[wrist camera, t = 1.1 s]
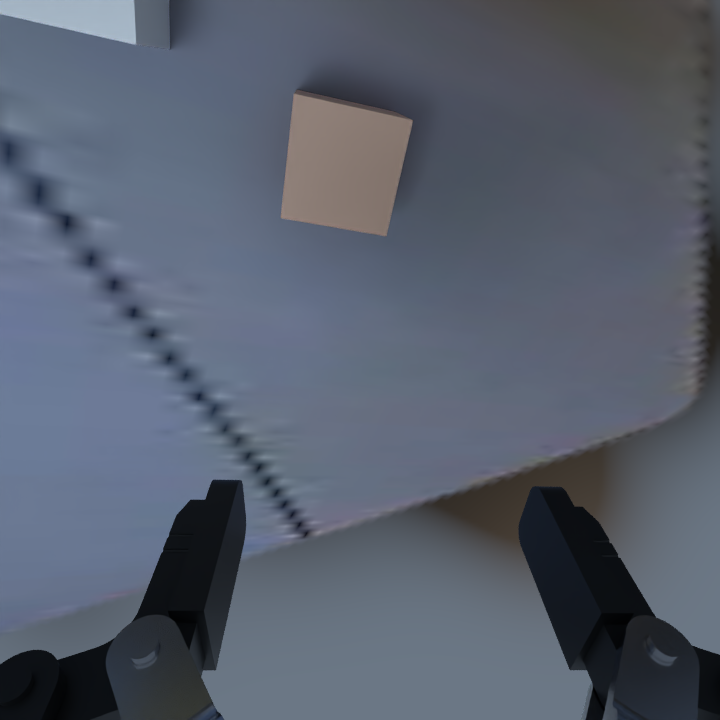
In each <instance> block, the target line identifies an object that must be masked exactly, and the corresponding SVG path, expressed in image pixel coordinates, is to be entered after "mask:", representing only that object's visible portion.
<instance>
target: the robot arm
mask: <svg viewBox="0 0 720 720" xmlns="http://www.w3.org/2000/svg"><path fill="white" fill-rule="evenodd" d="M245 532H246V513H245V503H244V493H243V484H242V481H241V480H213V481H212V482H211V485H210V487H209V490H208V493H207V496H206V499H205V500H190V501H189V502H188V503H187V504H186V505H185V507H184V508H183V509H182V510H181V511H180V512H179V513H178V514H177V515H176V518H175V520H174V523H173V525H172V528H171V530H170V533H169V537H168V538H167V541H166V543H165V546H164V548H163V553H161V556H160V558H159V561H158V563H157V566H156V568H155V571H154V573H153V576H152V578H151V581H150V584H149V586H148V589H147V591H146V594H145V596H144V599H143V601H142V604H141V606H140V609H139V611H138V613H137V615H136V617H135V618H134V620H133V621H132V622H131V623H130V624H129V625H127V626H126V627H125V628H124V629H123V630H122V631H121V632H120V633H119V634H118V635H117V636H116V637H115V638H114V639H113V640H111V641H109V642H108V643H106V644H104V645H102V646H99V647H97V648H94V649H91V650H87V651H85V652H81V653H78V654H75V655H72V656H69V657H66V658H63V659H59V660H57V659H56V658H55V657H54V656H53V655H52V654H51V653H49V652H47V651H43V650H31V651H26V652H23V653H20V654H18V655H15V656H13V657H12V658H10V659H8V660H6V661H5V662H3V663H2V664H0V720H224V719H223V717H222V715H221V714H220V713H218V712H217V710H216V708H215V706H214V704H213V702H212V700H211V698H210V696H209V693H208V691H207V689H206V687H205V685H204V682H203V680H202V678H201V675H202V671H203V670H216V667H217V662H218V658H219V653H220V649H221V644H222V640H223V635H224V631H225V626H226V621H227V617H228V612H229V608H230V604H231V599H232V594H233V590H234V585H235V581H236V576H237V572H238V567H239V563H240V558H241V554H242V549H243V545H244V540H245ZM519 540H520V544H521V547H522V550H523V552H524V555H525V557H526V560H527V562H528V565H529V568H530V570H531V573H532V575H533V578H534V580H535V583H536V585H537V588H538V590H539V593H540V595H541V598H542V601H543V603H544V606H545V608H546V611H547V613H548V616H549V618H550V621H551V623H552V626H553V629H554V631H555V634H556V636H557V639H558V641H559V644H560V646H561V649H562V651H563V654H564V656H565V659H566V661H567V664H568V667H569V669H570V670H587V671H588V674H589V676H590V678H591V681H592V683H591V684H590V686H589V689H588V693H587V697H586V702H585V706H584V711H583V714H582V718H581V720H720V655H719V654H715V653H712V652H709V651H706V650H703V649H700V648H697V647H695V646H692V645H691V644H690V642H689V641H688V640H687V639H686V638H685V637H684V635H683V634H682V633H680V632H679V631H678V630H677V629H676V628H674V627H673V626H672V625H670V624H669V623H667V622H665V621H663V620H661V619H659V618H656V616H655V615H654V614H653V612H652V610H651V609H650V607H649V605H648V604H647V602H646V600H645V599H644V597H643V595H642V594H641V592H640V590H639V589H638V587H637V585H636V584H635V582H634V580H633V579H632V577H631V575H630V574H629V572H628V570H627V569H626V567H625V565H624V564H623V562H622V560H621V558H618V554H617V552H616V550H615V549H614V547H613V545H612V544H611V543H609V538H608V537H607V535H606V533H605V532H604V530H603V528H602V527H601V525H600V524H599V522H598V521H597V520H596V519H595V518H594V517H593V516H592V515H590V514H589V513H588V512H587V511H586V510H585V509H584V508H583V507H574V505H573V503H572V501H571V500H570V498H569V496H568V494H567V492H566V491H565V490H564V489H563V488H562V487H539V486H535V487H532V489H531V490H530V493H529V496H528V499H527V502H526V505H525V508H524V511H523V514H522V516H521V519H520V522H519Z"/></svg>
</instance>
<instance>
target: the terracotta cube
mask: <svg viewBox="0 0 720 720" xmlns="http://www.w3.org/2000/svg"><path fill="white" fill-rule="evenodd" d="M412 123H413V120H411V119H409V118H407V117H405V116H403V115H401V114H399V113H397V112H394V111H390V110H385V109H381V108H376V107H372V106H368V105H363V104H359V103H354V102H350V101H345V100H341V99H336V98H332V97H328V96H323V95H319V94H314V93H310V92H305V91H301V90H296V91H295V93H294V97H293V107H292V116H291V126H290V135H289V144H288V154H287V163H286V172H285V182H284V191H283V201H282V210H281V218H283V219H289V220H294V221H300V222H306V223H312V224H318V225H323V226H329V227H335V228H341V229H347V230H352V231H358V232H364V233H370V234H376V235H381V236H387V231H388V227H389V223H390V218H391V214H392V210H393V205H394V201H395V197H396V192H397V188H398V184H399V179H400V175H401V171H402V166H403V162H404V158H405V153H406V149H407V145H408V140H409V136H410V132H411V127H412Z"/></svg>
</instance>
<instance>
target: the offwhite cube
mask: <svg viewBox="0 0 720 720" xmlns="http://www.w3.org/2000/svg"><path fill="white" fill-rule="evenodd" d="M0 14H3V15H7V16H12V17H16V18H20V19H25V20H29V21H33V22H38V23H42V24H47V25H51V26H55V27H60V28H64V29H69V30H73V31H77V32H82V33H86V34H91V35H95V36H99V37H104V38H108V39H112V40H117V41H121V42H126V43H130V44H134V45H140V46H147V47H154V48H161V49H168V50H170V14H169V0H0Z"/></svg>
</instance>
